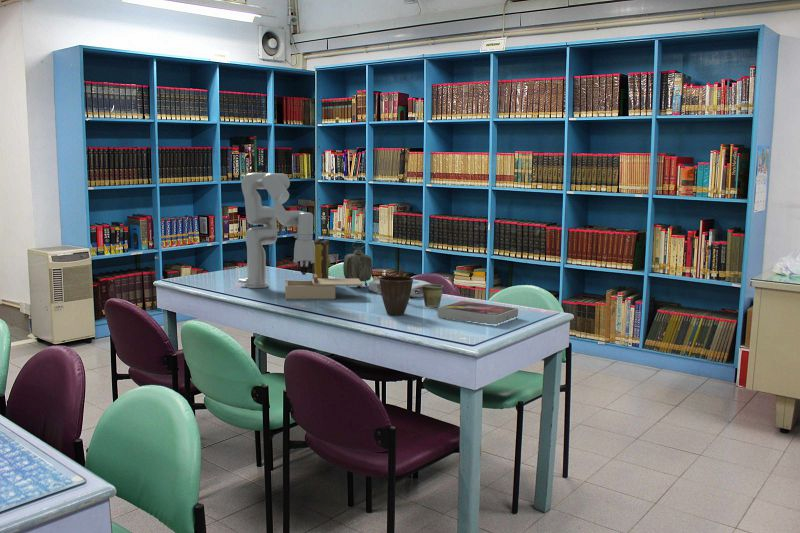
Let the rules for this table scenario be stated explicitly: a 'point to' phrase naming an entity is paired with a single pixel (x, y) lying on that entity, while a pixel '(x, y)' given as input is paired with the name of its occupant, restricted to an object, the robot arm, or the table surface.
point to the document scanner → (416, 284)
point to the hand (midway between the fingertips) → (303, 274)
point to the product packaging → (477, 312)
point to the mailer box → (307, 290)
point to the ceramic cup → (432, 295)
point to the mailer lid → (335, 282)
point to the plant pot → (395, 293)
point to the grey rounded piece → (358, 265)
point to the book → (321, 258)
